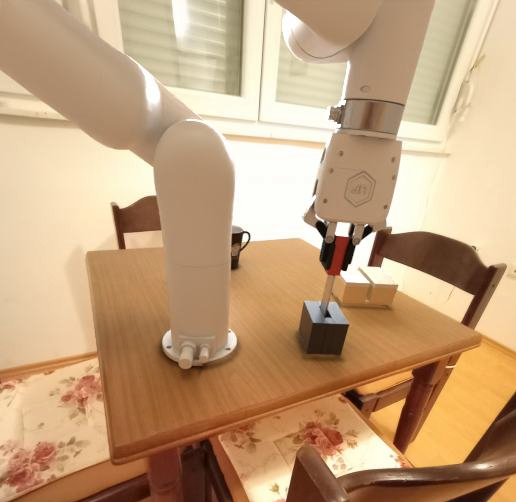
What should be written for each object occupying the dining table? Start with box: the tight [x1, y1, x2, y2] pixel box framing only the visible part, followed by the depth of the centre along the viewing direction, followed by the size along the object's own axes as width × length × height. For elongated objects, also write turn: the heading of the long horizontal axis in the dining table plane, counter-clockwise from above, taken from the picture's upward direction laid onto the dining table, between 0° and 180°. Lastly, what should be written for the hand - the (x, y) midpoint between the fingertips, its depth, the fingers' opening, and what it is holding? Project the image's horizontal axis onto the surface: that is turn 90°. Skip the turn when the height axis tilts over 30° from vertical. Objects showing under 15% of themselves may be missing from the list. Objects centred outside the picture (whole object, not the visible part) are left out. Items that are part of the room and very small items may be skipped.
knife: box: [320, 231, 350, 317], centre depth 50 cm, size 3×2×15 cm, turn 4°
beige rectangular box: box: [331, 264, 399, 309], centre depth 75 cm, size 11×12×6 cm
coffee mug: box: [231, 224, 252, 271], centre depth 85 cm, size 12×9×10 cm
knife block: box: [298, 300, 350, 356], centre depth 55 cm, size 8×6×7 cm
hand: (333, 266), depth 48 cm, fingers closed on knife, 2 cm apart
